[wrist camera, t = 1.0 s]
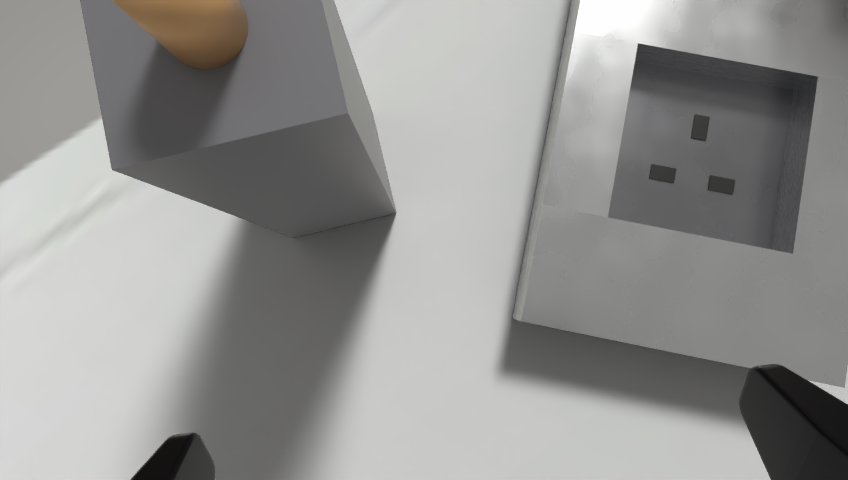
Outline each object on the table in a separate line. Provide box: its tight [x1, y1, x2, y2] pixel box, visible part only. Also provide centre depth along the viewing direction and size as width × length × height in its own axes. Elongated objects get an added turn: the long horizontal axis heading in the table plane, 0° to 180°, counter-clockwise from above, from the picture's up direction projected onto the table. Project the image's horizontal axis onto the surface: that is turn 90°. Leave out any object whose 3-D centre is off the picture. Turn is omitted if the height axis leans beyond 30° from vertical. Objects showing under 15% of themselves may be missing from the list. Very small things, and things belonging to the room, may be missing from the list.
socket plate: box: [512, 0, 848, 388], centre depth 22 cm, size 16×12×2 cm
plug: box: [80, 0, 396, 238], centre depth 16 cm, size 4×4×15 cm
